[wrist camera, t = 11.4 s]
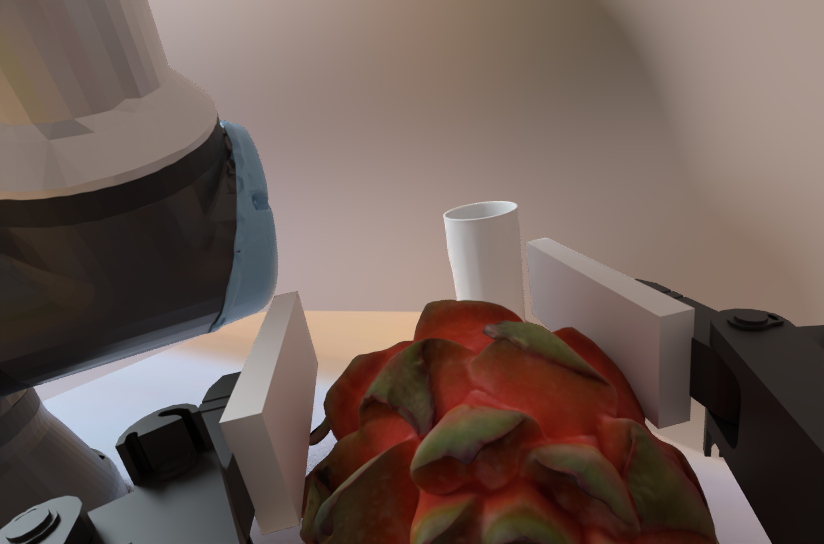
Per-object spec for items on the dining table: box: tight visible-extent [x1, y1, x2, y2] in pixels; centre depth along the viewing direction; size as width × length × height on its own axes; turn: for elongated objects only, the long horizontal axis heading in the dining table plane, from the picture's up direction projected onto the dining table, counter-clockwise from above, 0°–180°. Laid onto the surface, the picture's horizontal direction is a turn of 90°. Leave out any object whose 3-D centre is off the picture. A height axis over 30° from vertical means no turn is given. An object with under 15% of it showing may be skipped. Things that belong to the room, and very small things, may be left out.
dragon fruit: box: [300, 300, 719, 544], centre depth 11 cm, size 8×8×12 cm
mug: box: [443, 201, 525, 323], centre depth 42 cm, size 10×7×12 cm, turn 26°
